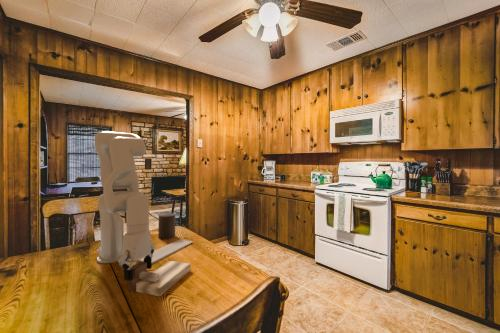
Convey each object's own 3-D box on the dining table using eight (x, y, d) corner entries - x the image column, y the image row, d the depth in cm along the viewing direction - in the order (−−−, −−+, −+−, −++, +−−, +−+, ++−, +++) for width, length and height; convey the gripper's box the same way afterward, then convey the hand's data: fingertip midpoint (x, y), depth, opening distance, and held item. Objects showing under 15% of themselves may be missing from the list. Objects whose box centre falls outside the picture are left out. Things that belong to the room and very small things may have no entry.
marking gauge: (128, 290, 85) (128, 268, 85) (140, 282, 91) (140, 261, 91) (151, 294, 83) (151, 272, 82) (162, 286, 88) (162, 265, 88)
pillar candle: (165, 240, 138) (165, 214, 138) (154, 237, 143) (155, 212, 143) (178, 236, 146) (178, 212, 146) (168, 233, 151) (168, 210, 151)
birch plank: (136, 291, 84) (136, 283, 84) (170, 267, 104) (170, 260, 103) (159, 296, 82) (159, 287, 81) (190, 270, 101) (190, 263, 101)
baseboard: (131, 261, 111) (151, 266, 106) (131, 255, 111) (151, 259, 106) (176, 240, 139) (193, 243, 135) (176, 235, 139) (193, 238, 134)
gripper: (146, 221, 96) (146, 263, 97) (109, 233, 80) (110, 283, 80) (161, 222, 94) (162, 265, 94) (127, 235, 78) (128, 286, 78)
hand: (138, 273), depth 87 cm, fingers open, 9 cm apart
